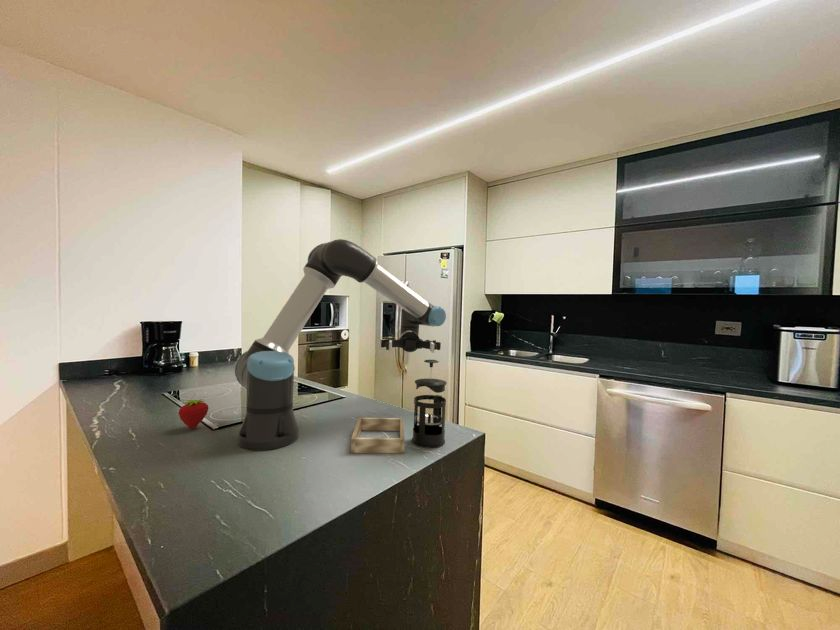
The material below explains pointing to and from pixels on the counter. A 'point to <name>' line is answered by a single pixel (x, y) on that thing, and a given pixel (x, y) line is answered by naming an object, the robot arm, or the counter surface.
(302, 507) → the counter surface
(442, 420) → the french press
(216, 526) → the counter surface
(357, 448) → the wooden frame
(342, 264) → the robot arm
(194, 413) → the strawberry
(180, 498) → the counter surface
